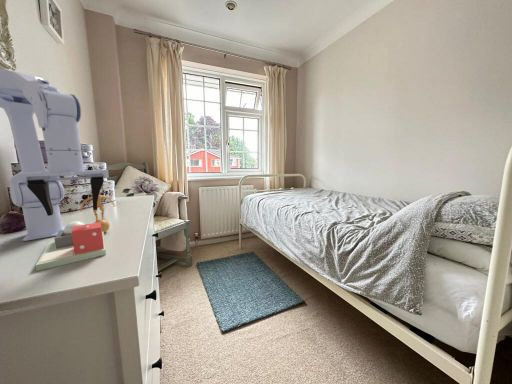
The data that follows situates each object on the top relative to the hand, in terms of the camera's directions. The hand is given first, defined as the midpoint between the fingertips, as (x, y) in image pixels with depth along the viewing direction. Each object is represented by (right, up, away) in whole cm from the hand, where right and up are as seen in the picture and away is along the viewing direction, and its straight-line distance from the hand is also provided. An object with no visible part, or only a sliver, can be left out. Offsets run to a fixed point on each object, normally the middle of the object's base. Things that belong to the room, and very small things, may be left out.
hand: (74, 211), depth 47 cm
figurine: (-5, -8, +15) cm, 17 cm away
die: (+3, -8, +1) cm, 9 cm away
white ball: (-4, -7, +5) cm, 10 cm away
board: (-2, -9, +3) cm, 10 cm away
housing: (-4, -8, +5) cm, 10 cm away
